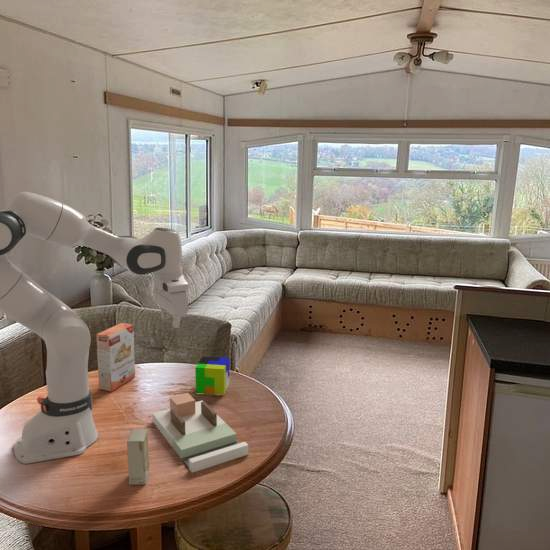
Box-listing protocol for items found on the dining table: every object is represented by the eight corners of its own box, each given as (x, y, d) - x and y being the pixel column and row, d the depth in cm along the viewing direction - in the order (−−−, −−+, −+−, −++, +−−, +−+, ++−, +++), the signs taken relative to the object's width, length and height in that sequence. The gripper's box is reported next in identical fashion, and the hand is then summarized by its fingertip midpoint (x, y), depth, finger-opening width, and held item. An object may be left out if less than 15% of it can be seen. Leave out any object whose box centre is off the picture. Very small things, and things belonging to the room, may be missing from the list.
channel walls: (182, 435, 150) (181, 422, 149) (170, 421, 158) (170, 409, 157) (216, 425, 156) (216, 413, 155) (204, 412, 163) (204, 401, 163)
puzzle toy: (229, 383, 192) (229, 358, 189) (224, 395, 182) (223, 369, 180) (202, 381, 192) (202, 356, 190) (195, 394, 183) (195, 367, 180)
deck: (192, 472, 138) (191, 462, 137) (152, 421, 164) (152, 413, 163) (248, 454, 147) (248, 444, 146) (202, 408, 172) (202, 400, 172)
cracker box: (112, 392, 183) (109, 336, 178) (98, 389, 185) (94, 333, 180) (136, 377, 195) (134, 324, 190) (123, 374, 197) (120, 322, 193)
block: (177, 418, 160) (176, 404, 159) (170, 410, 165) (169, 397, 164) (195, 413, 163) (195, 400, 162) (187, 405, 168) (187, 392, 167)
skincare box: (146, 485, 133) (144, 441, 130) (128, 485, 132) (126, 442, 130) (149, 470, 139) (148, 428, 136) (133, 470, 139) (131, 428, 136)
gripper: (147, 274, 167) (149, 315, 171) (170, 288, 151) (172, 334, 154) (166, 272, 171) (168, 312, 174) (191, 286, 154) (192, 330, 157)
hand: (170, 322), depth 164 cm, fingers open, 8 cm apart
